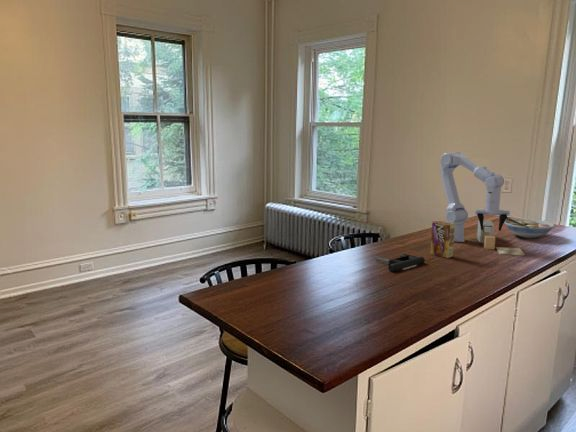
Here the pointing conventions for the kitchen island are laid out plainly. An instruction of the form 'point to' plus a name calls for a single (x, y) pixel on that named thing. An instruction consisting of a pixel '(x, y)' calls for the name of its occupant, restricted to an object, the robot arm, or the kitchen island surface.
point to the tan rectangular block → (489, 242)
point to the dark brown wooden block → (481, 233)
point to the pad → (510, 251)
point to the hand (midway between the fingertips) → (490, 230)
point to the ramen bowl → (528, 227)
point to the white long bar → (487, 228)
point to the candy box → (442, 238)
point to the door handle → (402, 262)
